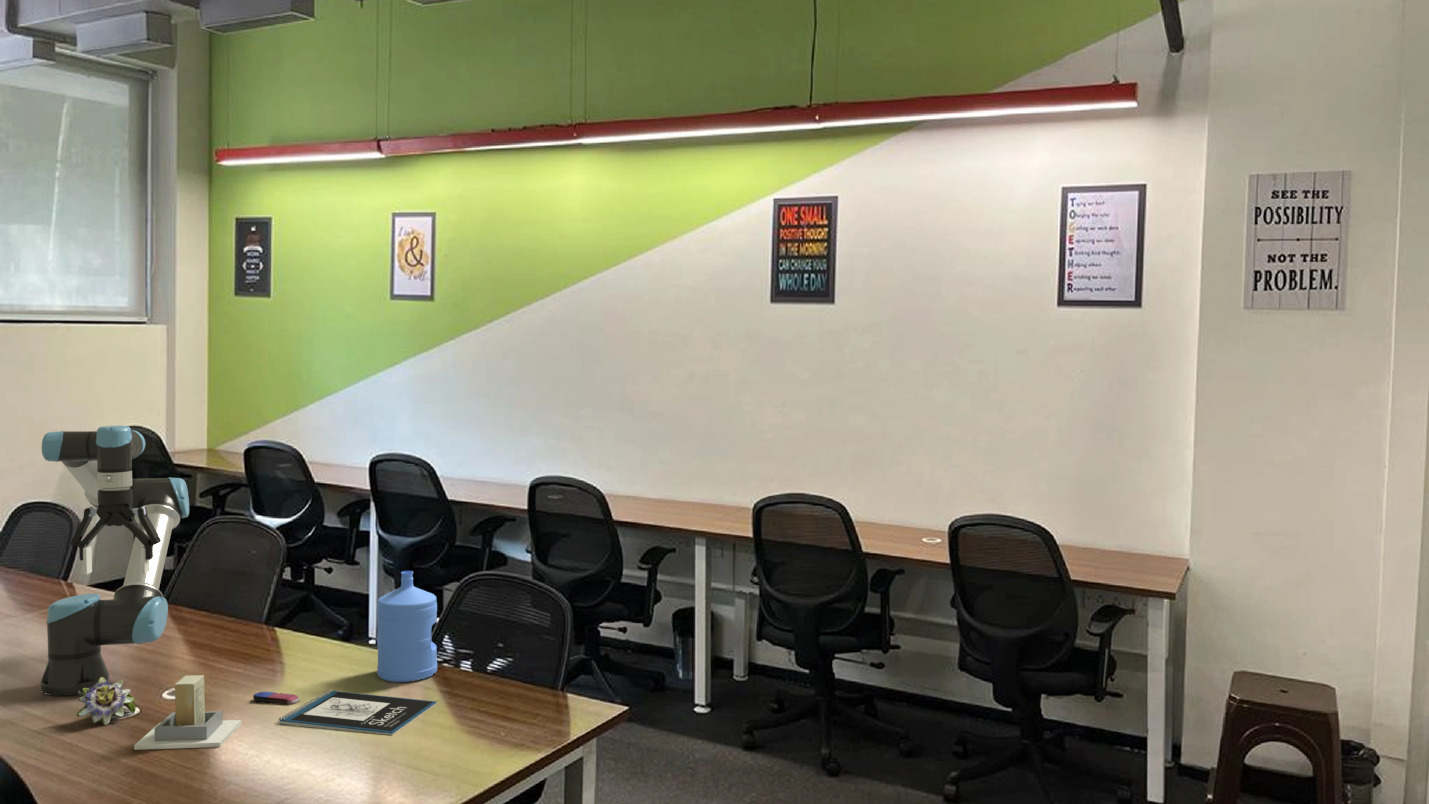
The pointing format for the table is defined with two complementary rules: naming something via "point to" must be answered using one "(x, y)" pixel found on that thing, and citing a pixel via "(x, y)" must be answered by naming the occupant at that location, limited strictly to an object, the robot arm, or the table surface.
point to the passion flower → (105, 701)
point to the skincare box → (190, 701)
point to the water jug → (406, 633)
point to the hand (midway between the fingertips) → (116, 573)
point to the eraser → (275, 698)
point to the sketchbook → (357, 712)
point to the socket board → (189, 733)
